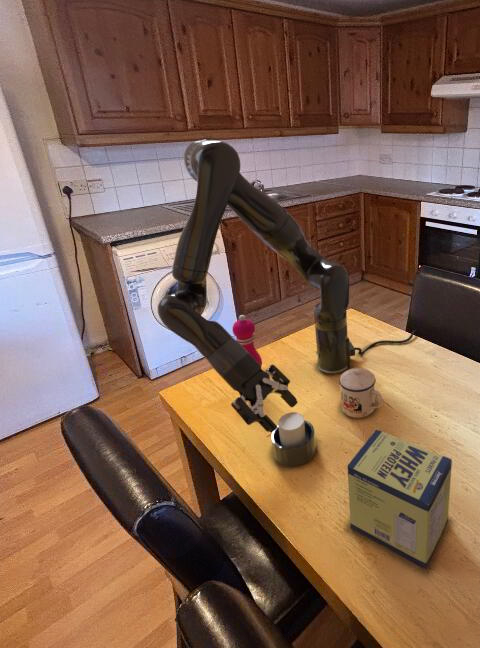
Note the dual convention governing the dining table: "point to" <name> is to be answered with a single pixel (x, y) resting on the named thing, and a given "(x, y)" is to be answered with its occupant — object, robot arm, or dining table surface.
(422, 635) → the dining table surface
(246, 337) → the pepper mill
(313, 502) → the dining table surface
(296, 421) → the plain white cylinder
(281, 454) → the dark round open container
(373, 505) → the protein box
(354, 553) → the dining table surface
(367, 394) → the teacup with lid
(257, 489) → the dining table surface
